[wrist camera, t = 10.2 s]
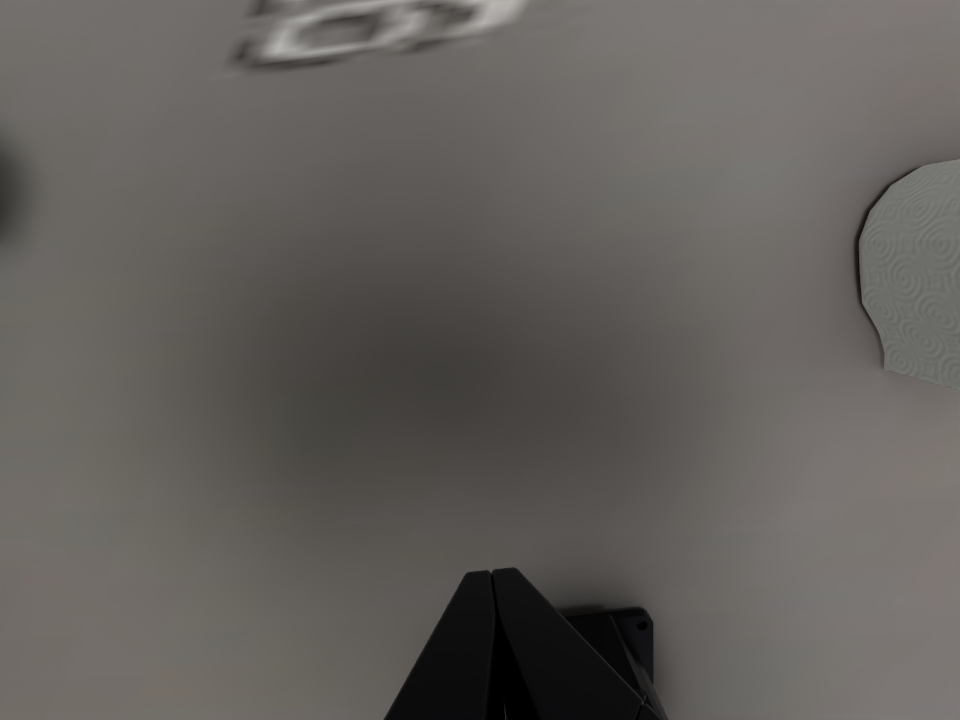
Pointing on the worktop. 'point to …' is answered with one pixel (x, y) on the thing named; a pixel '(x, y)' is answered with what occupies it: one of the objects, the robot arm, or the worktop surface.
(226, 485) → the worktop surface
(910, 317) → the paper towel roll
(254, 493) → the worktop surface
